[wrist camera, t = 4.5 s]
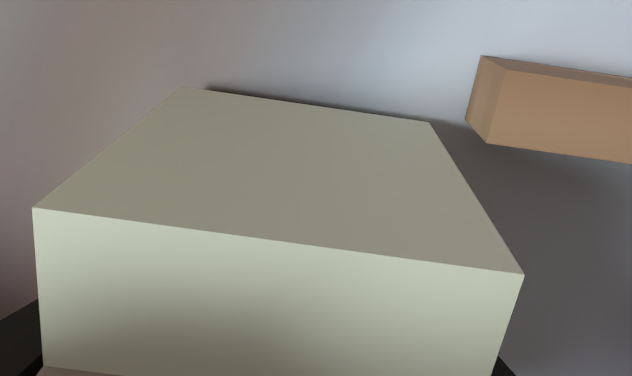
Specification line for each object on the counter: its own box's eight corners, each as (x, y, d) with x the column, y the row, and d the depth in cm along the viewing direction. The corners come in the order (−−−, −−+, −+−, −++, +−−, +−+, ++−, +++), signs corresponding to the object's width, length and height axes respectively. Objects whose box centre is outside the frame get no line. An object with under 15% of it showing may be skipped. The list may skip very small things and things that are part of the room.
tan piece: (713, 532, 14) (826, 699, 11) (120, 459, 14) (55, 611, 10) (966, 127, 10) (1276, 204, 7) (120, 1, 9) (11, 17, 6)
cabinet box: (370, 378, 12) (403, 731, 6) (170, 352, 12) (29, 690, 6) (428, 122, 10) (559, 330, 4) (182, 86, 10) (-24, 251, 4)
